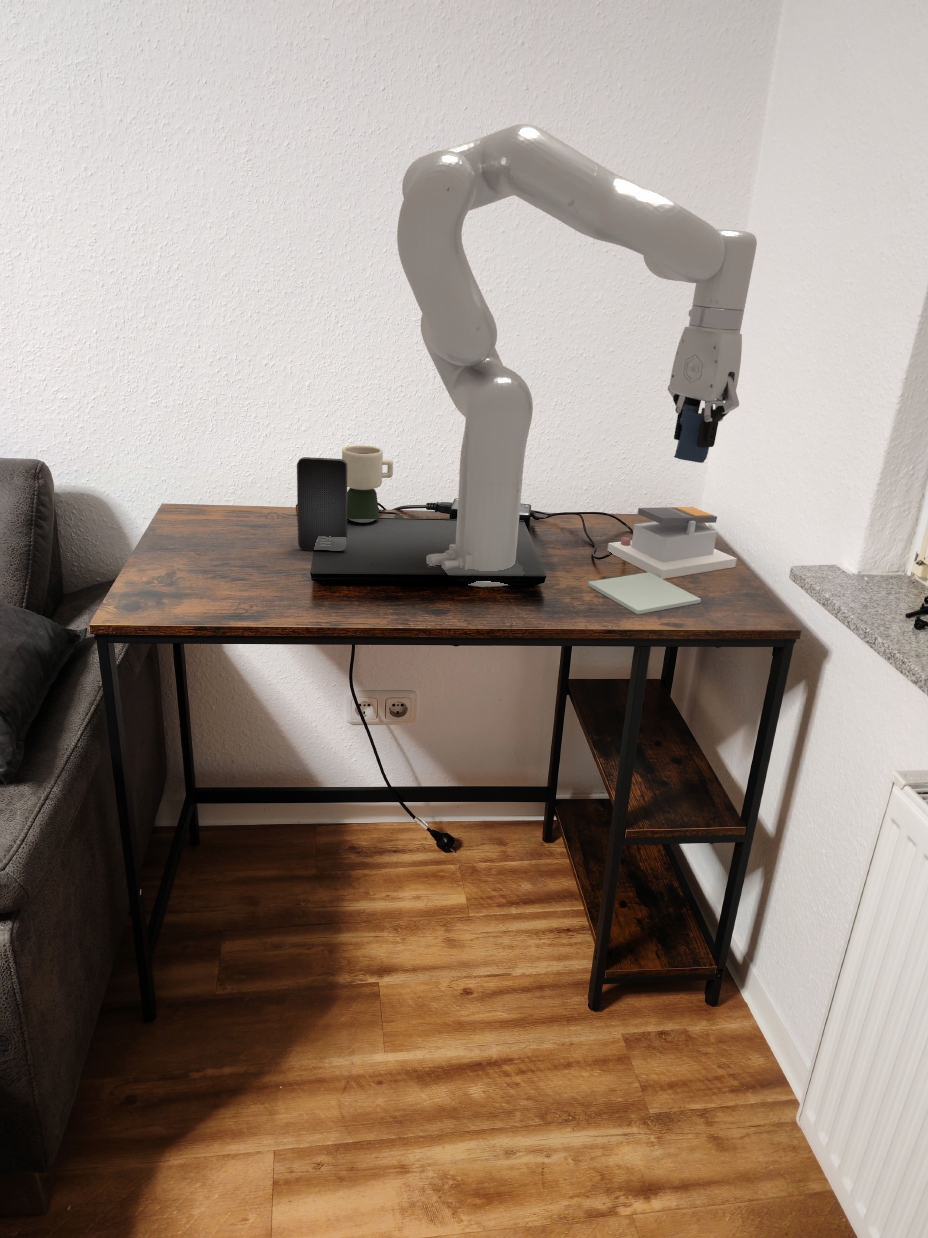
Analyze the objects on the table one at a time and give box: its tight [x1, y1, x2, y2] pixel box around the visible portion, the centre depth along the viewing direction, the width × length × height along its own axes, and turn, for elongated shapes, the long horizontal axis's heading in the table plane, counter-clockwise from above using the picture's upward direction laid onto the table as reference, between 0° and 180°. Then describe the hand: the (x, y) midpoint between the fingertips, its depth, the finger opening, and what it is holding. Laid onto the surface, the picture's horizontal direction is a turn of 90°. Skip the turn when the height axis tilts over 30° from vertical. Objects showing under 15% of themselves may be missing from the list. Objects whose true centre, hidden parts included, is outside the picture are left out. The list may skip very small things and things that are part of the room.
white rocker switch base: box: [607, 521, 738, 580], centre depth 151 cm, size 16×14×8 cm
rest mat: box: [587, 572, 702, 615], centre depth 136 cm, size 12×12×1 cm
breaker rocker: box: [637, 506, 718, 524], centre depth 149 cm, size 12×6×1 cm, turn 119°
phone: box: [296, 456, 348, 551], centre depth 143 cm, size 8×1×15 cm, turn 92°
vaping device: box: [673, 397, 715, 464], centre depth 139 cm, size 3×5×12 cm, turn 80°
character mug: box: [341, 444, 394, 520], centre depth 159 cm, size 11×7×13 cm, turn 105°
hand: (693, 441), depth 141 cm, fingers closed on vaping device, 4 cm apart
